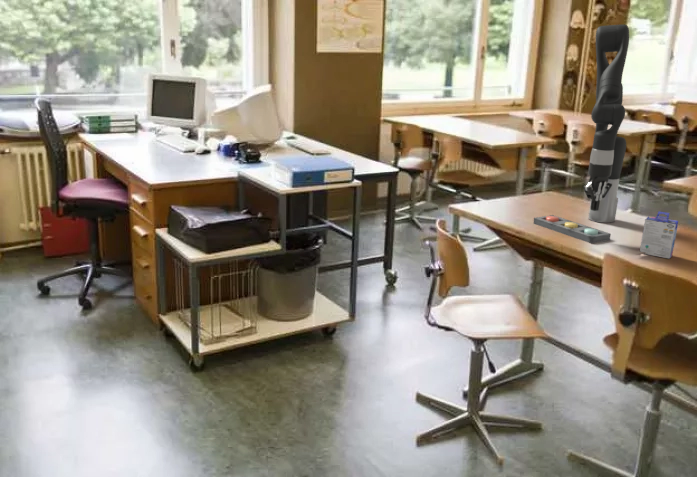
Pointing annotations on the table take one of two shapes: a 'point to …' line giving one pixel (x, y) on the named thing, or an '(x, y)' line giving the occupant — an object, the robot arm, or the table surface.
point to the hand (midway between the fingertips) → (594, 210)
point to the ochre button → (571, 225)
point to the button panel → (572, 230)
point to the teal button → (591, 231)
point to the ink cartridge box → (659, 236)
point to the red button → (552, 218)
